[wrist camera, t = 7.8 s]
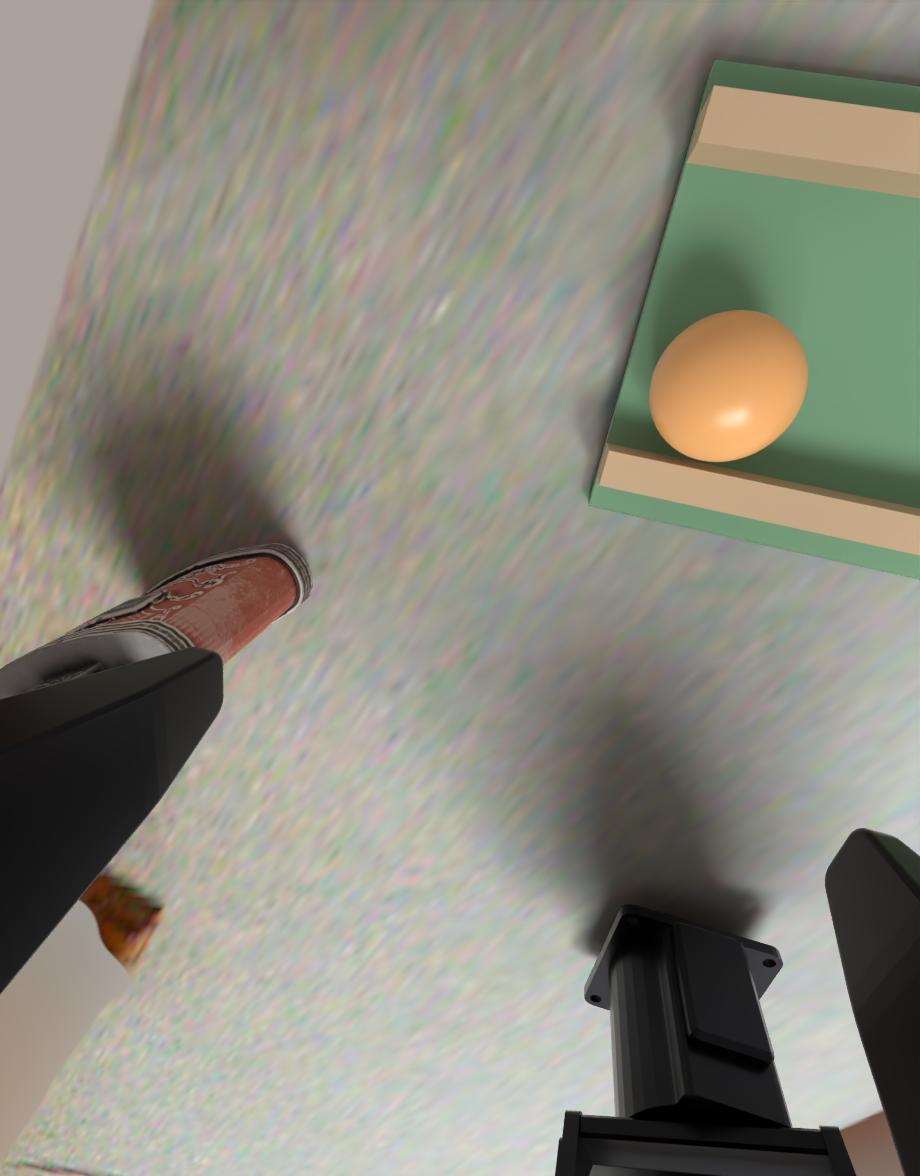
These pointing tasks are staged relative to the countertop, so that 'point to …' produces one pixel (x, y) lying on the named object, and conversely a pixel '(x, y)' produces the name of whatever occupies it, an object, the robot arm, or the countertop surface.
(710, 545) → the countertop surface
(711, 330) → the ball
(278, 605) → the lighter
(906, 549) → the track
